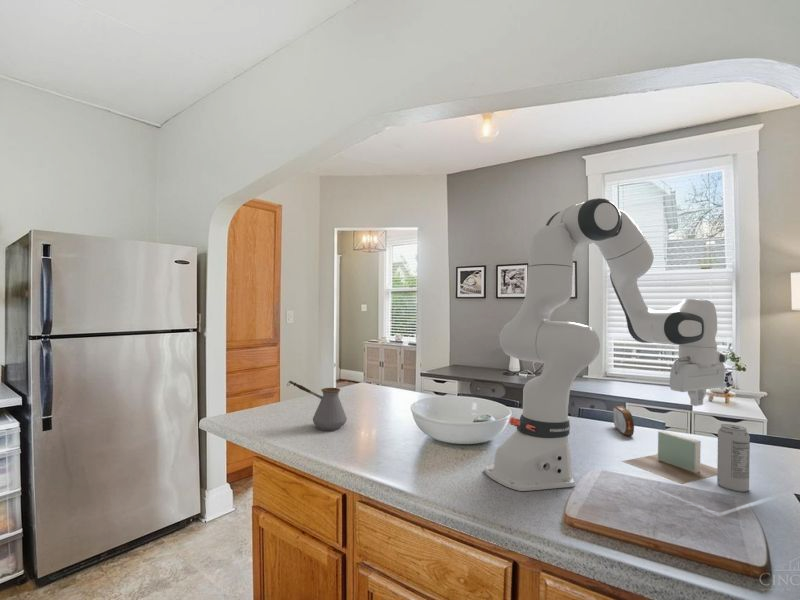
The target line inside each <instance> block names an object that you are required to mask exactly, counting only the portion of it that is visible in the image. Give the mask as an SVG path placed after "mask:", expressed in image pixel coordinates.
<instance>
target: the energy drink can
mask: <svg viewBox="0 0 800 600" xmlns="http://www.w3.org/2000/svg"><path fill="white" fill-rule="evenodd" d="M750 439H751V436H750V435H749V432H748V431H747V428H746V427H745V426H741V425H735V424H731V423H730V424H727V423H722V424H720V428H719V429H718V430H717V461H716V462H717V466H716V467H717V475H716V479H717V480H716V481H717V484H718V485H719V486H720V487H722V488H724V489H726V490H729V491H734V492H739V493H746V492H748V491H749V490H750V456H751V455H750V450H751V449H750V446H751V445H750V444H751V443H750V441H751V440H750Z"/></svg>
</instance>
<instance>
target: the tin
mask: <svg viewBox="0 0 800 600" xmlns="http://www.w3.org/2000/svg"><path fill="white" fill-rule="evenodd" d="M612 414H613V415H612V416H613V417H612V419H613V424H614V427H615V429H616V430H617V431H619V432H620V433H621V434H622V435H623V436H630V435H631V436H630V437H632V436H633V435H634V432H635V431H634V430H635V423H634V417H633V415H632V413H631V411H630V410H628V409H627V408H626V407H624V406H623V405H617V406H613V409H612Z"/></svg>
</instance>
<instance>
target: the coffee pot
mask: <svg viewBox="0 0 800 600" xmlns="http://www.w3.org/2000/svg"><path fill="white" fill-rule="evenodd" d="M290 385H293V386H294V387H297V388H298V389H299V390H302V391H304V392H306V393H308V394H311V395H313V396H315V397H317V398H318V399H320V402H319V404H318V406H317V408H316V410H315V412H314V415H313V417H312V423H313V424H314V425H315V426H316V427H317V428H318V429H319V430H322V431H328V432H329V431H338V430H340V429H341V428H342V427H343V426H344V425H346V422H347V420H348V417H347V415H346V412H345V409H344V407H343V404H342V402H341V399H340V398H339V393H340V391H341V388H338V387H324V388H323V387H322V388H321V389H320V391H321V392H322V395H320V394H318V393H316V392H314V391H312V390H310V389H308V388H307V387H305V386H303V385H301V384H298V383H297V382H294V381H292V380H289V381H288V382H287V384H286V386H287V387H289V386H290Z"/></svg>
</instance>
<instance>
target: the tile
mask: <svg viewBox="0 0 800 600" xmlns="http://www.w3.org/2000/svg"><path fill="white" fill-rule="evenodd" d="M701 443H702V442H701V440H698V439H694V438H691V437H687V436H683V435H680V434H675V433H673V432H668V431H665V430H658V431H657V454H658V460H660V461H663V462H666V463H669V464H672V465H674V466H677V467H680V468H683V469H686V470H689V471H692V472H695V473H697V472H700V463H701Z"/></svg>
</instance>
